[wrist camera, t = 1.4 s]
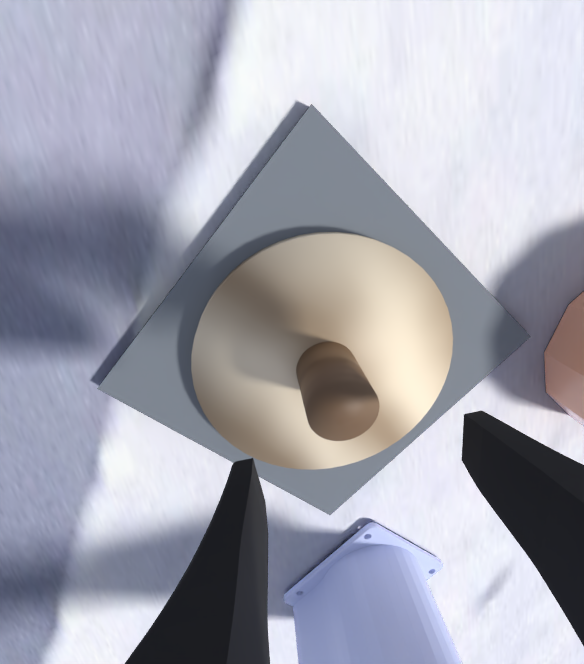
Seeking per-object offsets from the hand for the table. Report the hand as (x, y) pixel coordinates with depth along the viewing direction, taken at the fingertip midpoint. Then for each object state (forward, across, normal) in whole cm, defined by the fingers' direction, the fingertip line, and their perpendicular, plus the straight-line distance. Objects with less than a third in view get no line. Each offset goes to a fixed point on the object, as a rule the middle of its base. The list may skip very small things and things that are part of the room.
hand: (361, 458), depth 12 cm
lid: (+7, 0, 0) cm, 7 cm away
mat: (+8, 0, 0) cm, 8 cm away
